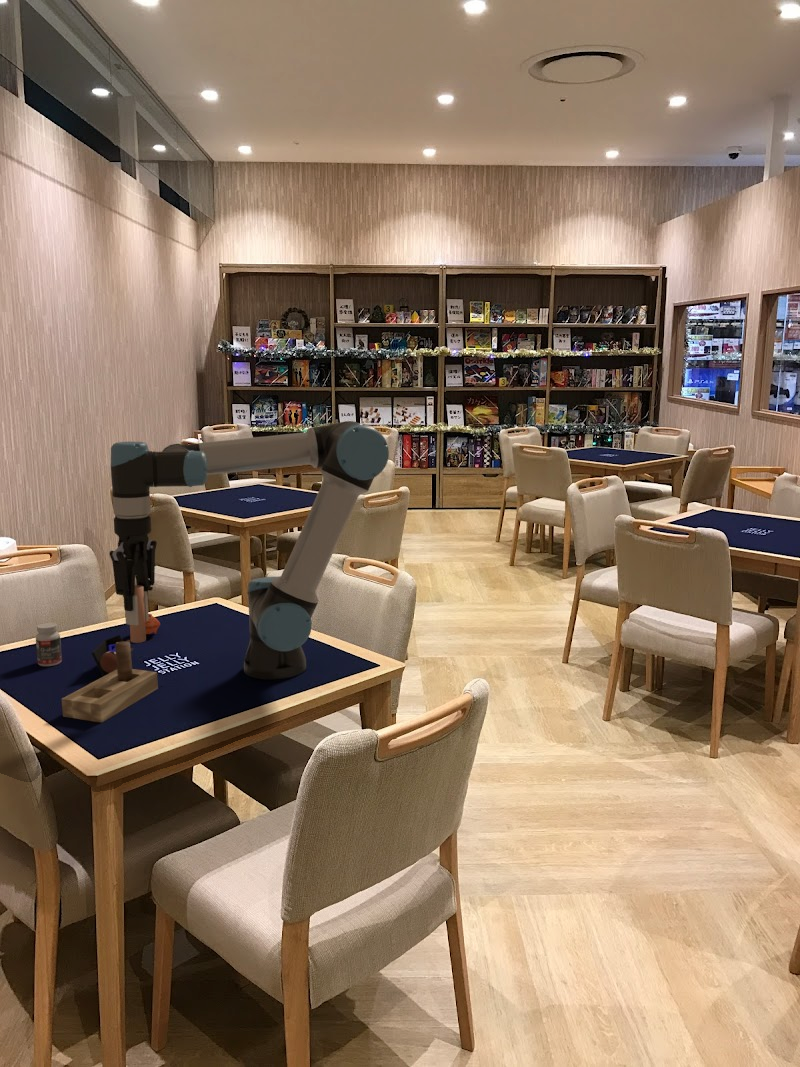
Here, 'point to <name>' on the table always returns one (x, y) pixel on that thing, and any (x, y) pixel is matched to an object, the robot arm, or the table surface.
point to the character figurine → (107, 655)
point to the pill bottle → (48, 645)
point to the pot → (151, 624)
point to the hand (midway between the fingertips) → (137, 621)
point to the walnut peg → (124, 661)
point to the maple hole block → (108, 696)
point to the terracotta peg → (139, 618)
